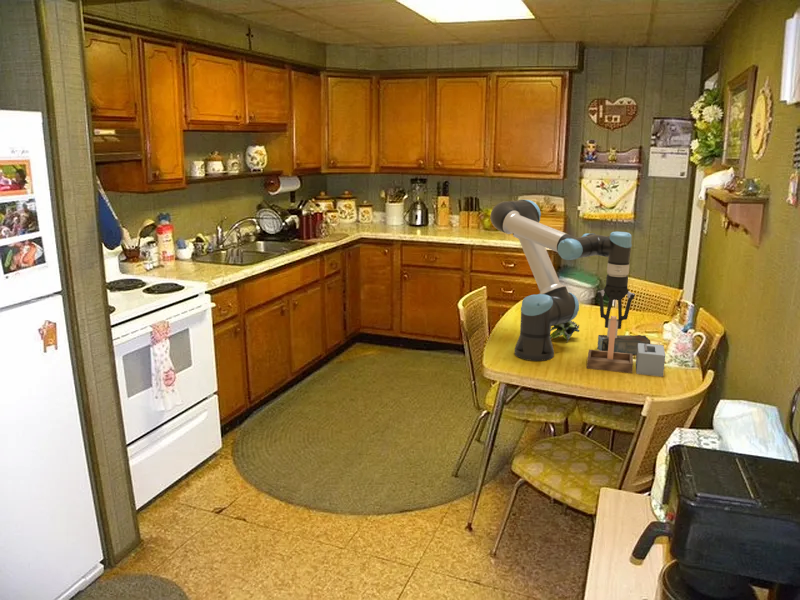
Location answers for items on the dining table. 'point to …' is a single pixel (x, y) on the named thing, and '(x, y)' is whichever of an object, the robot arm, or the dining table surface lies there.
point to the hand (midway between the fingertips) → (612, 336)
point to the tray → (610, 361)
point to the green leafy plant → (564, 330)
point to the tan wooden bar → (611, 337)
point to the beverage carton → (622, 343)
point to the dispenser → (650, 359)
